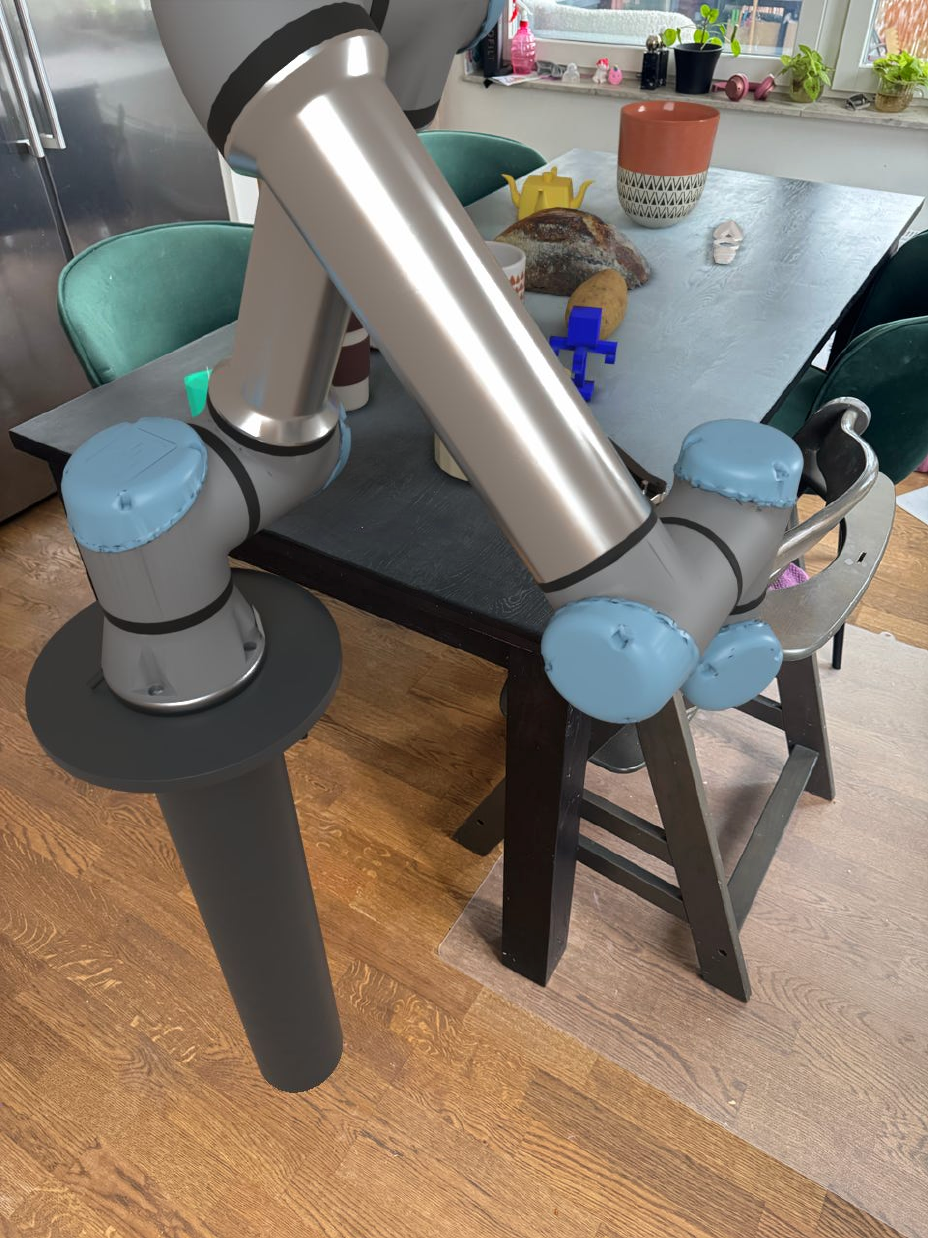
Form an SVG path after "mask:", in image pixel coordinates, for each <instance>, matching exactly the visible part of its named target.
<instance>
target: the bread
mask: <svg viewBox="0 0 928 1238" xmlns="http://www.w3.org/2000/svg"><path fill="white" fill-rule="evenodd" d="M492 241H495V242H501V243H506V244H510V245H513V246H515V247H517V248H519V249H521V250H522V251H523V252H524V253H525V256H526V262H525V283H524V291H529V292H534V293H540V294H547V295H555V296H567V297H571V295H572V294H573V292H574V291H575V290H576V289H577V288H578V287H579V286H580V285H581V284H582V283H583V282H585V281H587V280H588V279H590V278H591V277H592V276H594V275H595V274H597V273H598V272H600V271H601V270H603V269H614V270H616V271H618V272H619V273H620V275H621V276H622V277H623V279H624V280H625V282H626V286H627V290H629V289H630V290H634V289H636V285H638V286H639V288H641V287H642V285H643V286H645V285H646V283H647V282H648V280H650V275H652V272H651V267H650V264H649V261H647V260H648V259H647V258H646V257H645V256H644V255H643V253H642V252H641V250H640V249H639V248H638V246H637V245H635V244H634V242H632V241H631V240H630V239H629V237H628V236H627V235H626V234H624V233H623V232H622V231H621V230H620V229H619V228H618V227H616V226H615V225H614V224H613V223H611V222H609V221H607V220H606V219H604V218H603V217H600V216H598V215H596V214H594V213H592V212H589V211H585V210H581V209H580V208H579V209H572V208H564V207H554V208H548V209H542V210H540V211H538V212H535V213H533V214H531V215H530V216H528V217H525V218H524V219H522V220H517V221H515V222H514V223H512V224H511V225H510V226H508V227H506V229H504V230H503V231H502V232H501V233H500V234H499V235H497V236H496V237H495V238H493V240H492Z"/></svg>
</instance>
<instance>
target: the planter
mask: <svg viewBox="0 0 928 1238" xmlns="http://www.w3.org/2000/svg"><path fill="white" fill-rule="evenodd" d="M721 115H722V114H721V111H720V110H719V109H717V108H715V107H713V106H710V105H706V104H702V103H697V102H691V101H690V102H689V101H678V100H646V101H645V100H644V101H637V102H632V103H631V102H630V103H628V104H624V105H623V106H622V107H620V113H619V124H618V125H619V127H618V128H619V129H618V144H617V161H616V162H617V164H616V191H617V197H618V200H619V204H620V206H621V208H622V210H623V211H624V213H625V214H626V215H627V217H628V218H629V219H630V220H632V222H633V223H635V224H637V225H639V226H641V227H645V228H649V229H664V228H669V227H672V226H675V225H677V224H679V223H680V222H682V221H683V220H684V219H685V218H687V217H688V216H689V215H690V214H691V213H692V212H693V210H695V208H696V207H697V205H698V203H699V201H700V199H701V196H702V194H703V191H704V189H705V185H706V181H707V177H708V173H709V169H710V165H711V160H712V156H713V151H714V146H715V143H716V142H715V141H716V138H717V133H718V129H719V124H720V119H721Z"/></svg>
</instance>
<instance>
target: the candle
mask: <svg viewBox="0 0 928 1238" xmlns="http://www.w3.org/2000/svg"><path fill="white" fill-rule="evenodd" d="M205 367H206V369H205V370H201V371H197V372H193V373H189V374H188V375H186V376H184V377H183V378H184V386H185V391H186V396H187V399H188V404H189V409H190V413H191V418H193V417H195V416H197V415H198V414H200V413H201V412H202V410H203V409H204V407H205V402H206V395H207V389H208V382H209V377H210V374H211V372H212V370H213V368H211V369H209V368H208V366H205Z"/></svg>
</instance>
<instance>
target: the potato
mask: <svg viewBox="0 0 928 1238" xmlns="http://www.w3.org/2000/svg"><path fill="white" fill-rule="evenodd" d="M573 305H575V306H586V307H596V308H602V317H601V326H600V336H599V339H598V340H601V341H606V339H608V337H610V336H611V335H612V334H613V333H614V332H615V330H616V329H617V328H618V327H619V326H620V325H621V324H622V322H623V321H624V319H625V316H626V312H627V308H628V289H627V286H626V282H625V280H624V279H623V277H622V276H621V275H620V273H619V272H618V271H616V270H614V269H603V270H601V271H600V272H598V273H597V274H595V275H594V276H592V277H591V278H590V279H588V280H587V281H585V282H583V283H582V284H581V285H580V286H579V287H578V288H577V289H576V290H575V291H574V292H573V294H572V295H571V296H569V299H568V301H567V305H566V308H565V313H564V314H565V315H564V322H565V324H566V327H567V329H568V323H569V315H570V313H571V310H572V308H573Z"/></svg>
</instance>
